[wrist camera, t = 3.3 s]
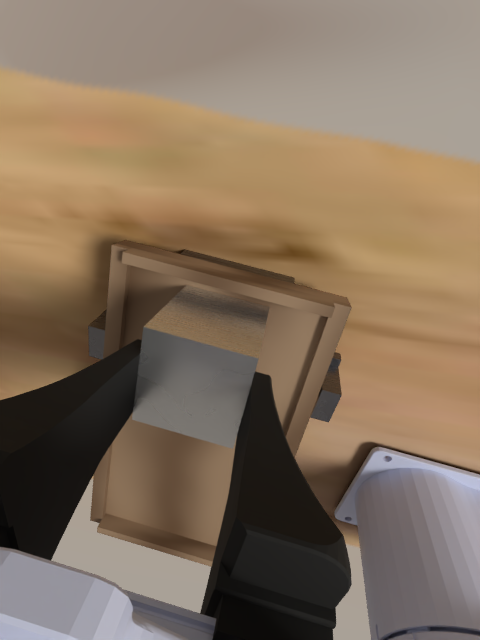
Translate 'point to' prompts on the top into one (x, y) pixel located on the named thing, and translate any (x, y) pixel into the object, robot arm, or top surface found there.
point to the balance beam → (188, 452)
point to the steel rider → (199, 364)
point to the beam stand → (331, 383)
